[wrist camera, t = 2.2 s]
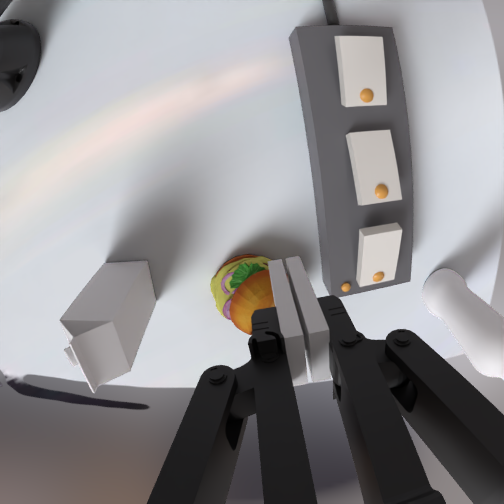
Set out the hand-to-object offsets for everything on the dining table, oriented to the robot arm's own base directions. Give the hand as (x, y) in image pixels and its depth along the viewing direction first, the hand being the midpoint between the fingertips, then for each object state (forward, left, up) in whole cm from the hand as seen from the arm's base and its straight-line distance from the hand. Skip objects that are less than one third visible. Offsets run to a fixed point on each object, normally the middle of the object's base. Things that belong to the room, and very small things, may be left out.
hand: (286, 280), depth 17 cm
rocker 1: (-13, +13, -18) cm, 25 cm away
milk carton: (+10, -21, -25) cm, 34 cm away
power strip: (-5, +13, -24) cm, 28 cm away
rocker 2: (-2, +13, -18) cm, 22 cm away
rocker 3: (+9, +13, -18) cm, 24 cm away
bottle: (+21, +28, -25) cm, 43 cm away
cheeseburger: (+13, -3, -25) cm, 28 cm away
